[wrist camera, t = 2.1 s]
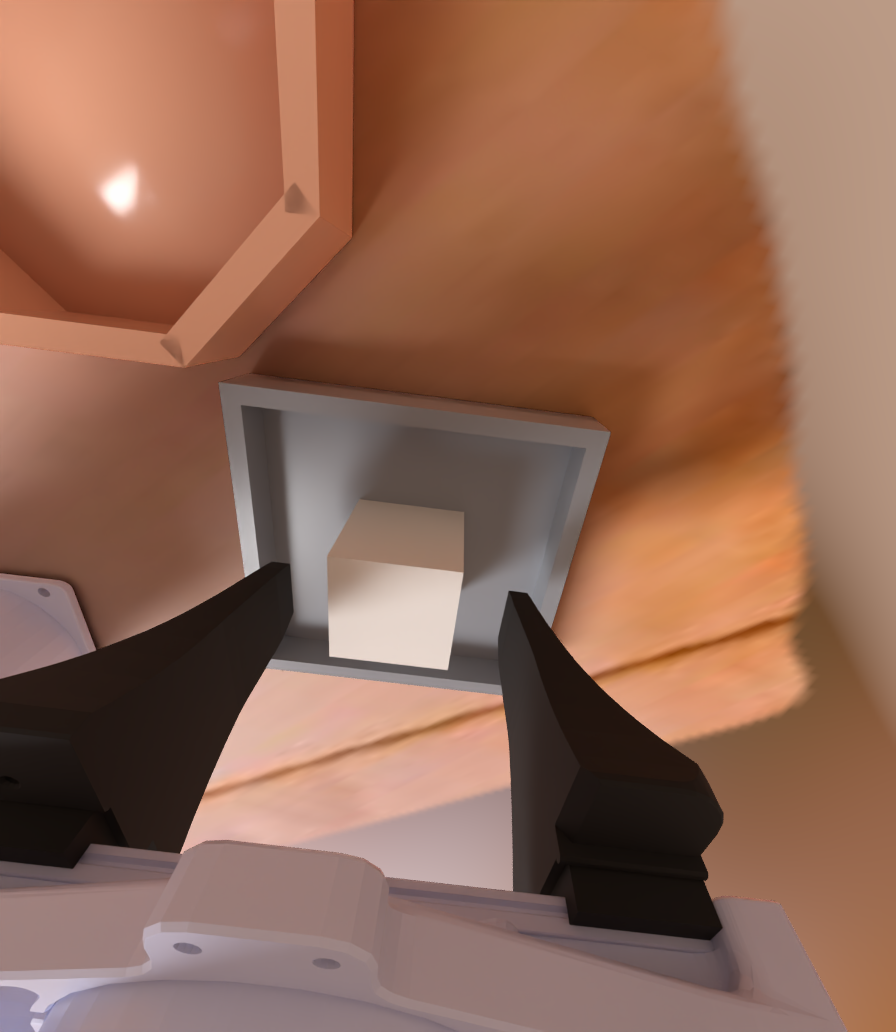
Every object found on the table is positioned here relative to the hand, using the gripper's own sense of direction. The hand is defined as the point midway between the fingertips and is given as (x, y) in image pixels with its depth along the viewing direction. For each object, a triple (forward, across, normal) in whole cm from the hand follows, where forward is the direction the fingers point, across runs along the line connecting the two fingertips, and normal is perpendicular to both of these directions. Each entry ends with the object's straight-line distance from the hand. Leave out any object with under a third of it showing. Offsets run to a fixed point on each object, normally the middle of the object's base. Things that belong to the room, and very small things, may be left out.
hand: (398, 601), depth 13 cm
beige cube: (+3, 0, 0) cm, 3 cm away
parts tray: (+4, 0, 0) cm, 4 cm away
